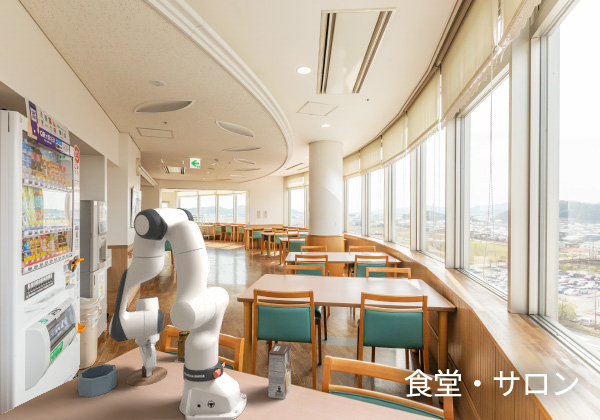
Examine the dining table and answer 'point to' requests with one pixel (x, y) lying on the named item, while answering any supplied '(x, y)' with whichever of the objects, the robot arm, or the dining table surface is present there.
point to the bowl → (97, 380)
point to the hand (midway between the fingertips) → (147, 370)
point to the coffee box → (279, 370)
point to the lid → (141, 379)
